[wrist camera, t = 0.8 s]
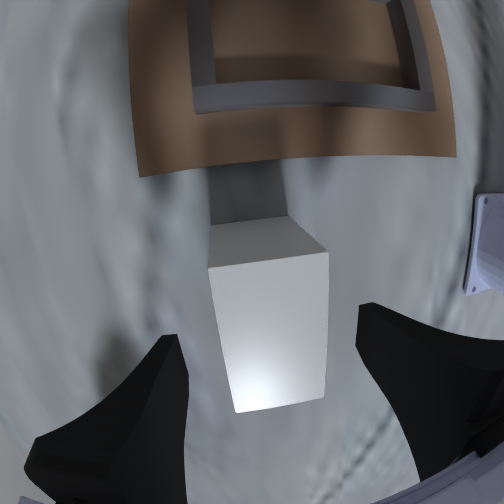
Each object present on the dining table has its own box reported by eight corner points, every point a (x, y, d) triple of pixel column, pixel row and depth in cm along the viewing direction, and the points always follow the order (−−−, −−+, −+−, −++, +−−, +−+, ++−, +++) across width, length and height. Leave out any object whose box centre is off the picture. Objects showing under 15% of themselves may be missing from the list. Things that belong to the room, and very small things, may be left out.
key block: (287, 215, 15) (328, 251, 10) (293, 328, 18) (323, 397, 12) (210, 225, 15) (207, 268, 9) (228, 338, 17) (235, 412, 12)
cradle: (414, -16, 11) (434, -28, 8) (446, 156, 15) (472, 159, 13) (135, -30, 9) (125, -51, 7) (144, 176, 14) (130, 180, 11)
